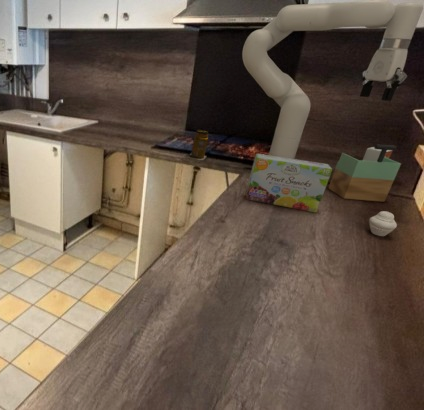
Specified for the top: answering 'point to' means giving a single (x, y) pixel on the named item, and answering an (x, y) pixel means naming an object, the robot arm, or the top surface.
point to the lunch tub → (370, 165)
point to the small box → (375, 154)
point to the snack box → (288, 182)
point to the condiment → (199, 145)
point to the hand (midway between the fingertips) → (374, 98)
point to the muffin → (382, 223)
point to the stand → (359, 187)
